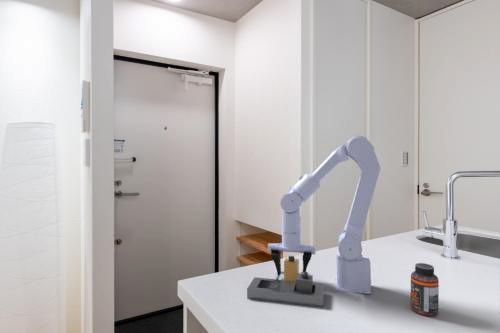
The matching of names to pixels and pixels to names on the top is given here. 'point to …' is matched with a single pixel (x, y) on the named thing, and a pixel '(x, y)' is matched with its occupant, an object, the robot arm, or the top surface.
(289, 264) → the plug
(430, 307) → the supplement bottle
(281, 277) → the tray
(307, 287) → the grey block with knob
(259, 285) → the strip
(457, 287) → the top surface
